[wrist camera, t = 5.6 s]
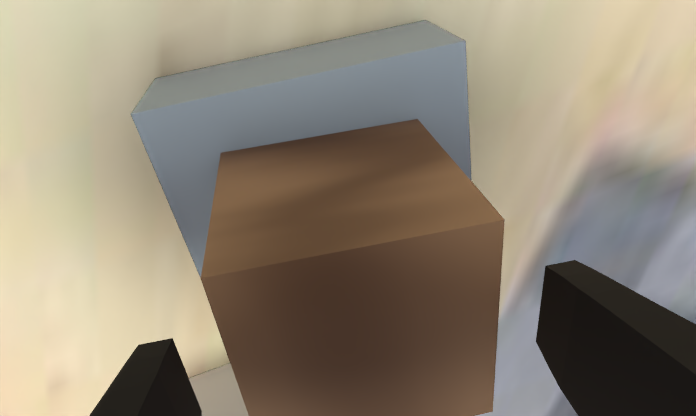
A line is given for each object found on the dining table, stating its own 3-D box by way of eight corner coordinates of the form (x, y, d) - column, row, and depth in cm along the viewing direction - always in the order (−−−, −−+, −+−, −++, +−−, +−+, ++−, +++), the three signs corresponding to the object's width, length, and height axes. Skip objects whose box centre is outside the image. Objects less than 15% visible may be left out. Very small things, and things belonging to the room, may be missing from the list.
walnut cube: (417, 119, 12) (504, 220, 8) (424, 272, 15) (492, 411, 11) (221, 152, 12) (200, 278, 8) (262, 305, 14) (265, 463, 10)
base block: (422, 17, 14) (465, 40, 11) (440, 234, 19) (476, 292, 16) (157, 75, 14) (130, 114, 11) (236, 283, 18) (232, 353, 15)
